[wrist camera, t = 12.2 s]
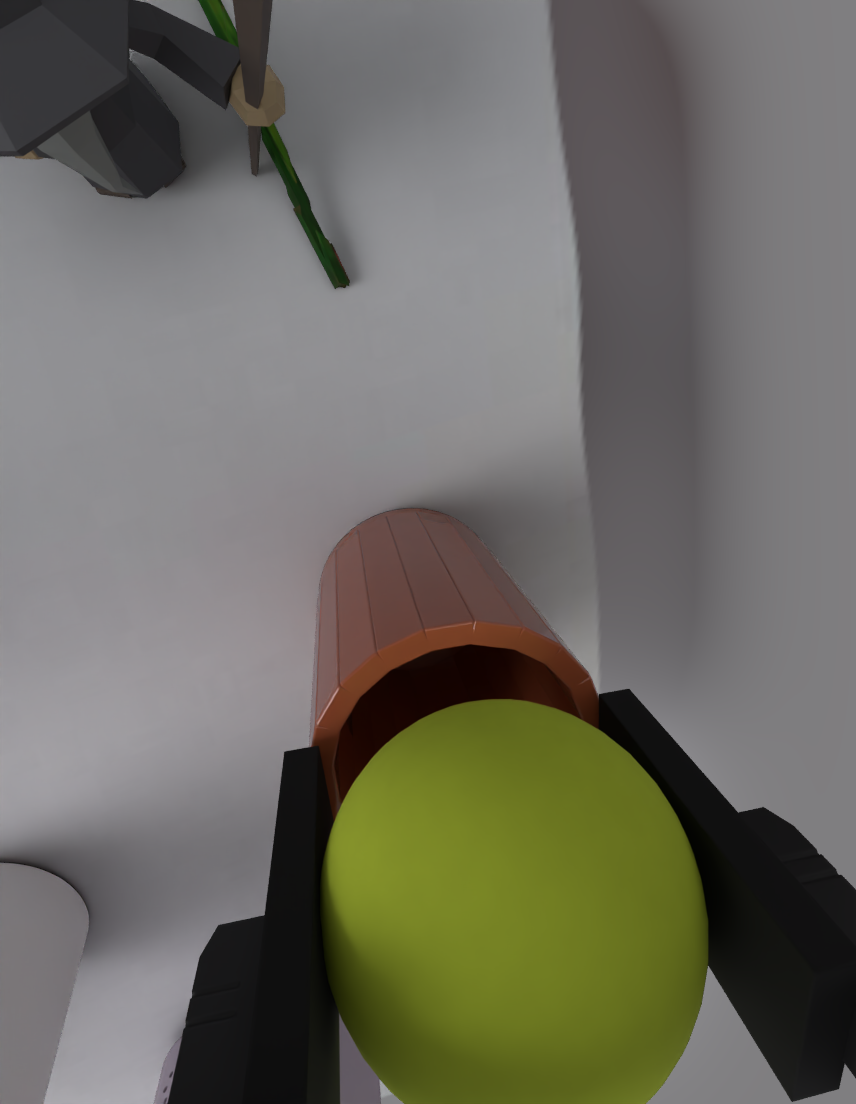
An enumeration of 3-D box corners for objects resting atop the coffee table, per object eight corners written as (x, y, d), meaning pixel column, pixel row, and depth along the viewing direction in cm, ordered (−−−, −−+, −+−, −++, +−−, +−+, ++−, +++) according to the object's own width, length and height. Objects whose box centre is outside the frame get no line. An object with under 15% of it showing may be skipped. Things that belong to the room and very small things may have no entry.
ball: (296, 668, 12) (262, 999, 6) (597, 615, 13) (850, 858, 7) (344, 901, 15) (357, 1322, 8) (598, 845, 15) (788, 1187, 9)
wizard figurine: (79, 276, 18) (-344, 147, 7) (-25, 62, 16) (-874, -632, 5) (332, 193, 18) (334, -62, 7) (261, -27, 16) (105, -870, 5)
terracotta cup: (304, 522, 22) (282, 652, 12) (491, 495, 22) (606, 599, 13) (334, 687, 24) (335, 901, 15) (502, 658, 25) (604, 843, 15)
